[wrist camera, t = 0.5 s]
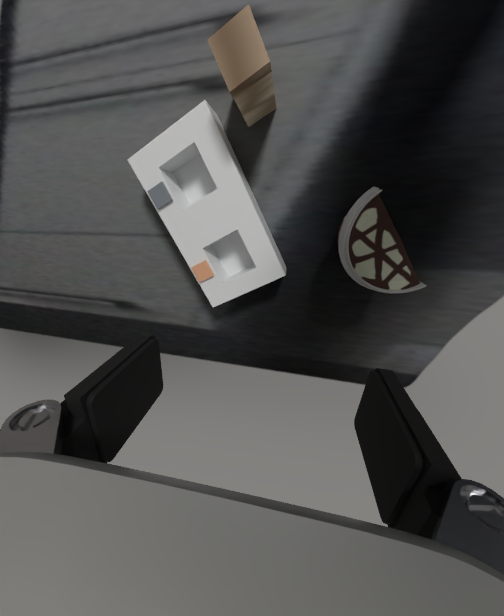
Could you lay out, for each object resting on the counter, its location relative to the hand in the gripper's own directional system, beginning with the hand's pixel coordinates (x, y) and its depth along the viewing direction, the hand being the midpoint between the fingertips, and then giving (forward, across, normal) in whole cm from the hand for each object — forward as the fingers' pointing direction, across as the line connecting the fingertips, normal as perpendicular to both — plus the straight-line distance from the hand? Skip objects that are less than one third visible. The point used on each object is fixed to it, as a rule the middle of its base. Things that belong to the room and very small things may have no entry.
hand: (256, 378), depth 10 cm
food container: (+29, -10, -3) cm, 30 cm away
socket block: (+28, +10, -5) cm, 30 cm away
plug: (+28, +6, -19) cm, 35 cm away
